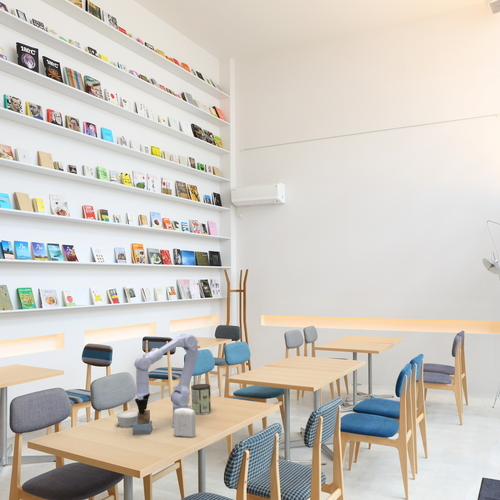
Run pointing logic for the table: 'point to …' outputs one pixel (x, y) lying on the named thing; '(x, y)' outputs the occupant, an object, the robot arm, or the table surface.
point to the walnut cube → (144, 417)
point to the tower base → (142, 431)
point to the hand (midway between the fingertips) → (142, 411)
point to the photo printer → (184, 422)
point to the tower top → (141, 426)
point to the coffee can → (201, 399)
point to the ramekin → (127, 418)
